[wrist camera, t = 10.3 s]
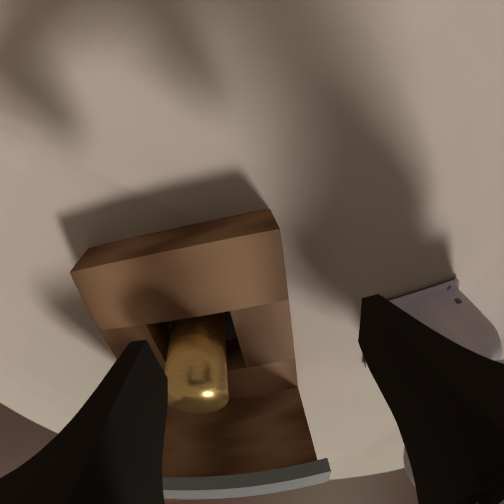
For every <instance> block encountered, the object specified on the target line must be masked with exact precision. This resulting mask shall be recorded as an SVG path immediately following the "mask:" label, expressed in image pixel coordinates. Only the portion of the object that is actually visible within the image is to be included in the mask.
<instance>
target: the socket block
mask: <svg viewBox="0 0 504 504" xmlns="http://www.w3.org/2000/svg"><path fill="white" fill-rule="evenodd" d="M70 274H71V276H72V278H73V280H74V282H75V284H76V286H77V288H78V290H79V292H80V294H81V296H82V298H83V300H84V302H85V304H86V306H87V308H88V310H89V312H90V314H91V315H92V317H93V319H94V321H95V323H96V324H97V326H98V328H99V330H100V331H101V333H102V335H103V336H104V338H105V340H106V341H107V343H108V345H109V346H110V348H111V350H112V351H113V353H114V354H115V356H116V358H117V359H118V358H119V356H120V355H121V354H122V352H123V351H124V349H125V348H126V347H127V346H128V344H129V343H130V342H131V341H140V340H147V342H148V344H149V345H150V347H151V349H152V351H153V353H154V355H155V357H156V358H157V360H158V362H159V364H160V365H161V367H162V369H163V371H164V372H165V366H166V360H167V353H168V347H169V341H170V335H171V334H170V332H169V330H168V327H167V325H166V323H165V322H166V321H173V320H180V319H186V318H192V317H198V316H204V315H210V314H216V313H221V312H227V311H230V313H231V317H232V320H233V324H234V328H235V331H236V335H237V338H238V339H237V340H231V341H226V359H227V378H228V395H229V399H228V402H227V404H226V405H225V406H224V407H223V408H221V409H220V410H218V411H215V412H212V413H206V414H191V413H186V412H182V411H179V410H177V409H175V408H173V407H171V406H170V405H168V407H167V417H166V426H165V435H164V445H163V455H162V479H163V493H164V498H167V499H217V498H232V497H244V496H253V495H261V494H268V493H274V492H281V491H286V490H291V489H297V488H302V487H306V486H311V485H315V484H319V483H323V482H327V481H329V477H330V473H331V470H330V466H329V462H328V459H327V458H325V459H321V460H317V457H316V453H315V450H314V446H313V442H312V438H311V434H310V431H309V427H308V423H307V419H306V416H305V412H304V408H303V405H302V401H301V397H300V393H299V390H298V384H297V373H296V363H295V353H294V343H293V334H292V325H291V316H290V307H289V298H288V290H287V281H286V273H285V265H284V257H283V250H282V242H281V234H280V228H279V226H278V224H277V222H276V220H275V218H274V216H273V214H272V212H271V210H265V211H259V212H254V213H249V214H244V215H238V216H233V217H228V218H223V219H218V220H213V221H208V222H204V223H199V224H194V225H189V226H185V227H180V228H175V229H171V230H166V231H162V232H157V233H153V234H148V235H144V236H140V237H135V238H131V239H127V240H123V241H118V242H114V243H110V244H106V245H102V246H98V247H94V248H90V249H88V250H87V251H86V252H85V253H84V255H83V256H82V257H81V258H80V260H79V261H78V262H77V263H76V265H75V266H74V267H73V269H72V270H71V271H70Z"/></svg>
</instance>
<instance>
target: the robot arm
mask: <svg viewBox="0 0 504 504" xmlns="http://www.w3.org/2000/svg"><path fill="white" fill-rule="evenodd" d="M459 285H460V281H459V280H458V279H454V280H451V281H448V282H445V283H442V284H439V285H436V286H433V287H430V288H427V289H424V290H421V291H418V292H415V293H412V294H409V295H405V296H402V297H399V298H395V299H392V300H387V299H385V298H384V297H382V296H381V295H379V294H376V295H373V296H369V297H365V298H362V307H361V319H360V329H359V339H358V342H359V345H360V348H361V350H362V353H363V356H364V358H365V368H366V369H369V370H370V371H371V373H372V375H373V377H374V379H375V381H376V383H377V385H378V387H379V388H380V390H381V392H382V394H383V396H384V398H385V400H386V402H387V404H388V406H389V407H390V409H391V411H392V413H393V415H394V418H395V420H396V422H397V425H398V427H399V430H400V433H401V436H402V439H403V442H404V445H405V447H404V456H403V459H404V466H405V469H406V472H407V475H408V477H409V479H410V480H411V482H412V483H413V485H414V486H415V487H416V491H417V497H418V503H419V504H504V360H501V356H502V345H501V341H500V337H499V335H498V332H497V330H496V329H495V327H494V326H493V324H492V323H491V322H490V321H489V320H488V319H487V318H486V317H485V316H484V315H483V314H482V313H481V311H480V310H479V309H478V308H477V307H476V306H475V305H474V304H473V303H472V302H471V301H470V300H469V299H468V298H467V297H466V296H465V295H464V294H463V293H462V292H461V291H460V290H459ZM167 407H168V378H167V376H166V374H165V372H164V371H163V369H162V367H161V365H160V364H159V362H158V360H157V358H156V357H155V355H154V353H153V351H152V349H151V347H150V345H149V344H148V342H147V340H140V341H131V342H130V343H129V344H128V346H127V347H126V348H125V349H124V351H123V352H122V354H121V355H120V356H119V358H118V359H117V361H116V362H115V363H114V365H113V366H112V368H111V369H110V370H109V372H108V373H107V375H106V376H105V377H104V379H103V380H102V382H101V383H100V384H99V386H98V387H97V389H96V390H95V391H94V392H93V394H92V395H91V396H90V398H89V399H88V400H87V401H86V403H85V404H84V405H83V407H82V408H81V409H80V410H79V412H78V413H77V414H76V415H75V416H74V418H73V419H72V420H71V421H70V422H69V423H68V424H67V425H66V426H65V427H64V429H63V430H62V431H61V432H60V433H59V434H58V435H57V436H56V437H55V438H54V439H52V440H51V441H50V442H49V443H48V444H47V445H46V446H45V447H44V448H43V449H42V450H41V451H39V452H38V453H37V454H36V455H34V456H33V457H32V458H31V459H29V460H28V461H27V462H25V463H24V464H23V465H21V466H20V467H18V468H17V469H15V470H14V471H12V472H10V473H9V474H7V475H5V476H3V477H2V478H0V504H165V503H164V493H163V479H162V455H163V445H164V435H165V426H166V417H167Z"/></svg>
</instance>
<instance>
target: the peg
mask: <svg viewBox="0 0 504 504" xmlns="http://www.w3.org/2000/svg"><path fill="white" fill-rule="evenodd" d="M165 374H166V376H167V378H168V405H170V406H171V407H173V408H175V409H177V410H179V411H182V412H186V413H191V414H206V413H212V412H215V411H218V410H220V409H221V408H223V407H224V406H225V405H226V404H227V402H228V399H229V395H228V378H227V359H226V338H225V316H224V312H221V313H216V314H210V315H204V316H198V317H192V318H186V319H180V320H173V323H172V329H171V335H170V341H169V347H168V353H167V360H166V366H165Z"/></svg>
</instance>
